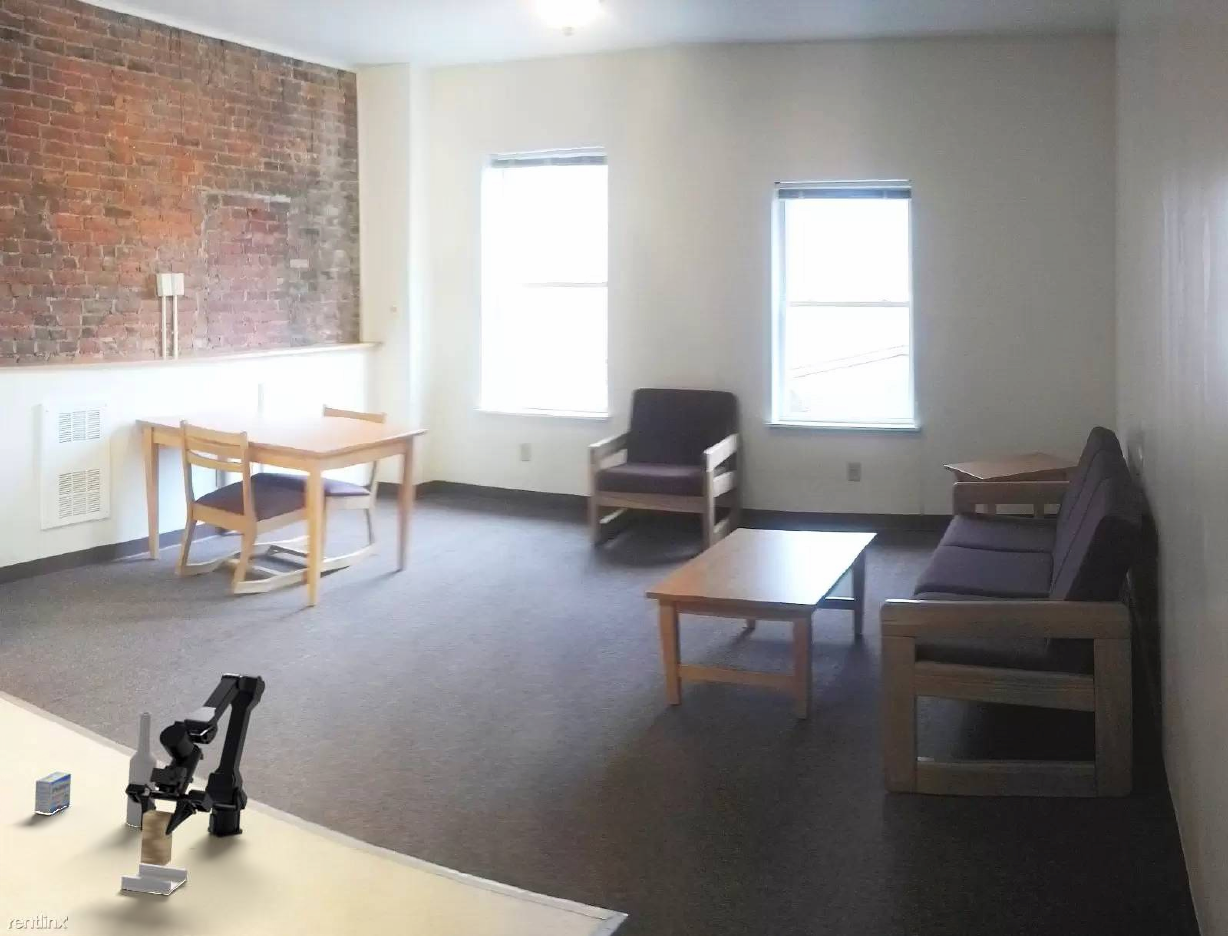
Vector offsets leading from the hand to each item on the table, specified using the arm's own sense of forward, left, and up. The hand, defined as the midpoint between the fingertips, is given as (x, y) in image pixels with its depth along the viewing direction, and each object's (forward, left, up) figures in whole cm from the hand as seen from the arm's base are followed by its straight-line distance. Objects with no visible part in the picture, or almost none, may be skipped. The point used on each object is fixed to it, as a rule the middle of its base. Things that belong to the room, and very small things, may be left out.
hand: (154, 833), depth 261 cm
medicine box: (+3, -57, -13) cm, 58 cm away
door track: (-1, -1, -12) cm, 12 cm away
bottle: (-12, -38, -13) cm, 42 cm away
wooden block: (-1, -1, -7) cm, 7 cm away
